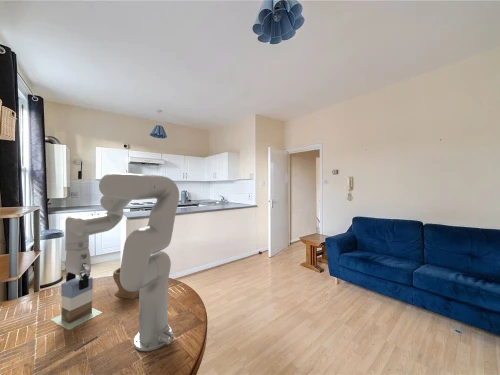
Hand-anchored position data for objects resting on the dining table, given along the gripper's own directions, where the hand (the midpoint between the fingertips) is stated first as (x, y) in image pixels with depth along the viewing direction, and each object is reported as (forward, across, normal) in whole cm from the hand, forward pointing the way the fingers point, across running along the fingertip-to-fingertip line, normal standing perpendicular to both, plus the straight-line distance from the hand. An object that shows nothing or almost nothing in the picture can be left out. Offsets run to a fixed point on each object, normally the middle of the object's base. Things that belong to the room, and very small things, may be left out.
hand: (77, 285), depth 86 cm
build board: (+14, 0, 0) cm, 14 cm away
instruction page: (+14, -15, +6) cm, 21 cm away
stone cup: (+14, -3, -21) cm, 25 cm away
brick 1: (+3, 0, 0) cm, 3 cm away
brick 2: (+8, 0, 0) cm, 8 cm away
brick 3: (+13, 0, 0) cm, 13 cm away
